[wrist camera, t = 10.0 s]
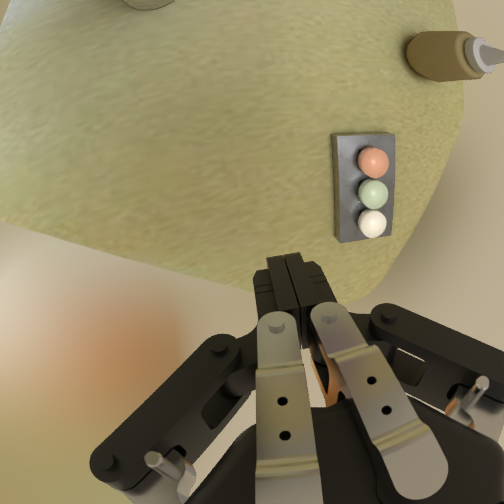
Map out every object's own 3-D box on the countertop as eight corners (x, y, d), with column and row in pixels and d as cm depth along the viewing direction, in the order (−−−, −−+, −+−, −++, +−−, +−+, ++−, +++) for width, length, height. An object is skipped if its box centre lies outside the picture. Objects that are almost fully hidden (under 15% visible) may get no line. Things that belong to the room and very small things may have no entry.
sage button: (351, 174, 39) (362, 182, 35) (375, 172, 39) (388, 180, 35) (351, 200, 41) (362, 210, 37) (375, 197, 41) (387, 207, 37)
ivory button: (351, 203, 41) (362, 214, 38) (375, 201, 41) (387, 211, 37) (351, 227, 43) (361, 239, 40) (374, 224, 43) (385, 235, 39)
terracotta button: (350, 144, 36) (362, 149, 33) (375, 143, 36) (388, 148, 33) (351, 171, 38) (362, 179, 35) (375, 169, 38) (388, 177, 35)
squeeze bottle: (404, 80, 32) (491, 87, 17) (394, 31, 28) (477, 14, 13) (442, 82, 32) (527, 94, 16) (434, 36, 28) (517, 31, 12)
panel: (331, 134, 37) (337, 136, 34) (386, 132, 36) (394, 134, 34) (334, 236, 45) (339, 243, 42) (384, 228, 44) (391, 235, 42)
